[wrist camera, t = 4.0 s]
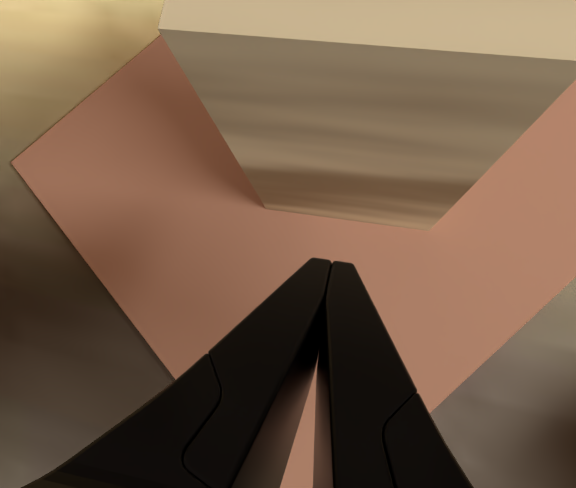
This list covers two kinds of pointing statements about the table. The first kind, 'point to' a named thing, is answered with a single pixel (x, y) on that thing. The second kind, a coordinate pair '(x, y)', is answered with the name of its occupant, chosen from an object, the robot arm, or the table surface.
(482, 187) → the rubber mat
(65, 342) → the table surface
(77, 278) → the table surface
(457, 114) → the birch block
